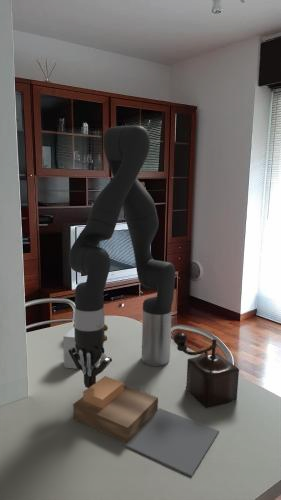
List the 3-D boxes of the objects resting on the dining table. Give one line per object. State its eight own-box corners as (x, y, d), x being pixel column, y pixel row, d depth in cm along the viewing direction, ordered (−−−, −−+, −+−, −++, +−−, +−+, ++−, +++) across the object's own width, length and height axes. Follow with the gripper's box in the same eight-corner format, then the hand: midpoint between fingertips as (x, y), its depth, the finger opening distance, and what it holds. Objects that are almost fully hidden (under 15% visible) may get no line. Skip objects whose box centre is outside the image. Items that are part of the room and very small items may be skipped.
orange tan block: (105, 384, 100) (105, 375, 99) (123, 391, 97) (123, 382, 96) (83, 400, 92) (83, 391, 92) (102, 408, 89) (102, 399, 89)
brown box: (107, 392, 103) (107, 378, 102) (157, 411, 95) (158, 397, 94) (73, 418, 91) (73, 404, 91) (127, 443, 83) (127, 427, 83)
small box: (80, 370, 115) (80, 338, 113) (63, 368, 116) (63, 336, 114) (89, 358, 122) (89, 328, 120) (73, 356, 124) (72, 326, 122)
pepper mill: (213, 380, 111) (217, 323, 107) (238, 400, 101) (242, 338, 97) (168, 391, 104) (170, 331, 101) (189, 414, 94) (192, 348, 91)
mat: (159, 409, 96) (159, 408, 96) (218, 432, 88) (218, 430, 88) (125, 446, 83) (125, 444, 82) (191, 477, 74) (191, 475, 74)
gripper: (119, 325, 93) (118, 388, 96) (79, 314, 100) (80, 373, 103) (101, 335, 87) (101, 402, 90) (59, 322, 94) (60, 385, 97)
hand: (89, 386), depth 97 cm, fingers closed
